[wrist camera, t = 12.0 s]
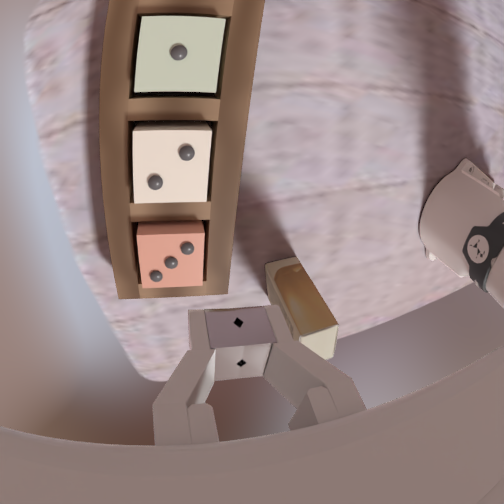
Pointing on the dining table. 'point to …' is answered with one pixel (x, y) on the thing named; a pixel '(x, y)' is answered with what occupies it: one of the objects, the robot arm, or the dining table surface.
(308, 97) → the dining table surface
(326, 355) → the skincare box
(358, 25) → the dining table surface
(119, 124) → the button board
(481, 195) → the robot arm
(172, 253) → the three-pip tile
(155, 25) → the tile
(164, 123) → the tile
